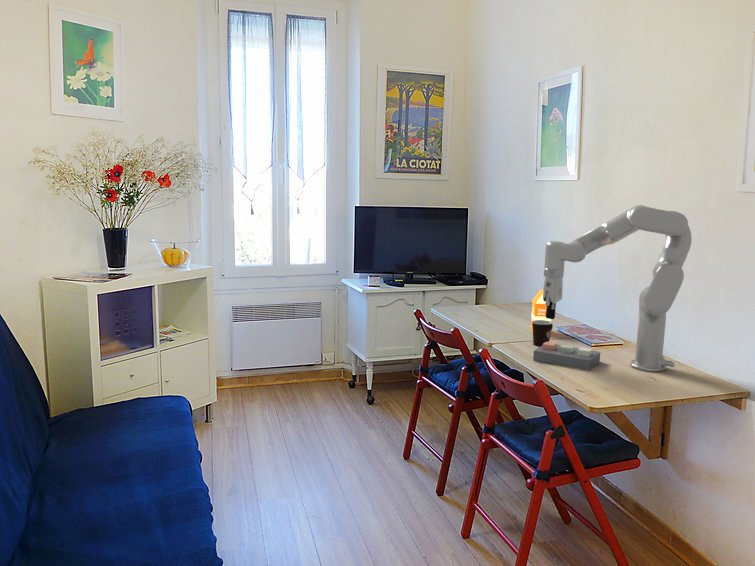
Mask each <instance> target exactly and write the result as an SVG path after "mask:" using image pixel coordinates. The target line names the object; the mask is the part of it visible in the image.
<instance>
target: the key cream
mask: <svg viewBox="0 0 755 566" xmlns="http://www.w3.org/2000/svg"><path fill="white" fill-rule="evenodd" d="M593 351H594V350H593V348H589V347H583V346H582V347H579V349H578V355H581V356H587V357H590V356H591V355H592V352H593Z"/></svg>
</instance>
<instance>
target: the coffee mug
mask: <svg viewBox="0 0 755 566" xmlns="http://www.w3.org/2000/svg"><path fill="white" fill-rule="evenodd" d="M553 327H554V325H553V321H551V322H550V321H546V320H534V321H532V331H533V332H532V331H531V332H532V340H533V341H532V342H533V343H532V345H534V346H536V347H541V346H542V345H543V343H545V342H550V339H551V334H552V330H553Z"/></svg>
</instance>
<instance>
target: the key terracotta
mask: <svg viewBox="0 0 755 566" xmlns="http://www.w3.org/2000/svg"><path fill="white" fill-rule="evenodd" d="M557 345H558V343H556V342H551V341H549V342H545V343H543V348H542V349H545V350H551V351H554V350H556V349H557Z"/></svg>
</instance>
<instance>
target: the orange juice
mask: <svg viewBox="0 0 755 566" xmlns="http://www.w3.org/2000/svg"><path fill="white" fill-rule="evenodd" d="M545 303H546V301H545V302H544V301H543V289H541V288H540V290H539V291H538V292H537V293H536V295H534V297H533V298H532V304H531V305H532V307H531V320H530V321H531V322H530V331H531V330H532V321H534V320H546V321H550V322H552V319H548V318H546V305H545ZM531 333H533V331H531Z"/></svg>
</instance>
